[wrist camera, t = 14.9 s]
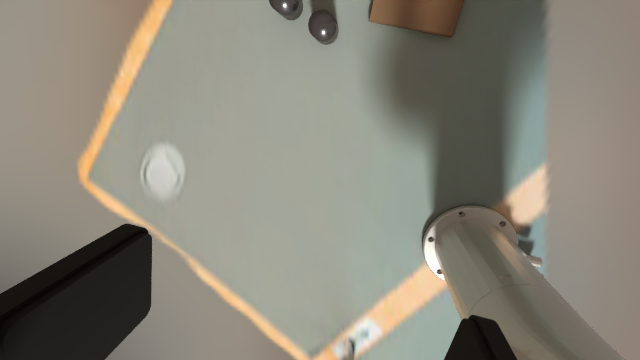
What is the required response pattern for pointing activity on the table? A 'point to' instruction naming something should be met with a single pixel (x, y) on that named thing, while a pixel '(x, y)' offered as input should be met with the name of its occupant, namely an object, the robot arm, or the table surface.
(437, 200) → the table surface
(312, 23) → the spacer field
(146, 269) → the robot arm
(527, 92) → the table surface
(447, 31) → the walnut pad
